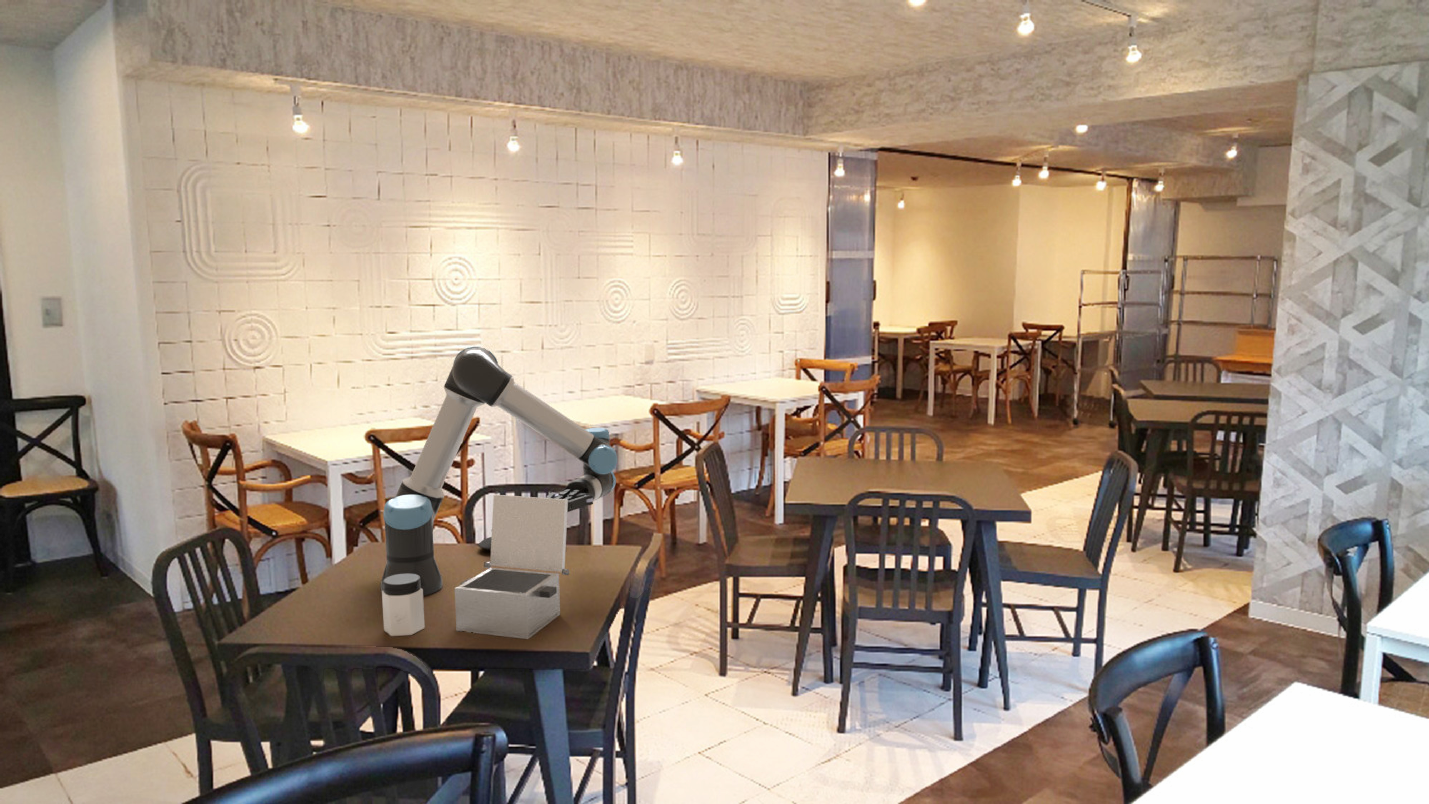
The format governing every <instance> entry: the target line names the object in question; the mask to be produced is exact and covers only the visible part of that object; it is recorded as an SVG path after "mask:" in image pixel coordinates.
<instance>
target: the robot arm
mask: <svg viewBox="0 0 1429 804" xmlns="http://www.w3.org/2000/svg"><path fill="white" fill-rule="evenodd" d="M446 378H447V379H446V381H445V382H444V385H443V389H444V391H445V394H446V395H445V398H444V399H443V403H442V404H441V407H440V409H439V411H438V414H437V416H436V417H435V420H434V422H433V425H432V426H431V427H432V428H431V429H430V432H429V435H428V436H427V439H426V440H425V442H424V446H423V448H422V450H421V452H420V455H419V456H418V459H417V461H416V464H415V467H414V468H413V470H412V473H411V475H410V476H408V477H406V478H403V479H402V481H401V484H400V486H399V488H398V490H397V492H396V495H395V497H394V498H390V499H389V500H387V501H386V503H385V504H384V507H383V514H382V515H383V516H382V518H383V521H384V535H385V537H384V538H385V539H384V540H385V552H386V553H385V556H386V564H385V566H384V570H383V575H382V577H381V582H380V594H382V591H383V580H384V579H385V578H387V577H389V576H392V575H397V574H416V575H419V576H420V580H421V588H422V589H423V597H425V596H427V595H428V596H429V595H431V594H434V593H436V592H438V591H440V590H441V589H442V588H443V577H442V574H441V572H440V569H439V566H438V564H437V561H436V559H435V550H434V549H435V548H434V546H435V545H434V522H435V518H436V516H437V514H438V511H439V509H440V506H441V504H442V502H443V500H444V497H445V494H444V490H443V486H444V484H445V481H446V478H447V477H448V474H449V472H450V469H451V467H452V465H453V463H454V461H455V458H456V456H457V454H458V452H459V450H460V446H461V445H462V443H463V440H464V437H465V435H466V433H467V431H468V428H469V427H470V424H471V422H472V419H473V417H474V415H475V414H476V413H475V412H476V411H477V409H478V408H479V407H481V406H483V405H485V404H486V405H488V406H489V407H490V408H494V407H497V408H499V409H501V410H503V411H504V412H505V413H507V414H509V415H510V416H512V417H514V418H515V419H516V420H518V421H520V422H521V423H522V424H524V425H525V426H527V427H528V428H531V429H532V430H533V431H534V432H536V433H538V434H539V435H541V436H542V437H544V438H545V439H547V440H549V441H550V442H551V443H554V444H555V445H556V446H557V447H560V448H561V449H562V450H564V451H566V453H568V454H570V455H571V456H573V457H574V458H576V459H578V460H579V461H580V462H581V463H582V464H583V466H582V468H583V470H582V471H583V475H582V476H580V477H578V478H577V479H575V480H572V481H571V482H569V483H568V484H567V485H566V486H565V489H564V490H563V491H560V492H558V493H557V494H556V492H553V491H548V494H547V496H546V497H545V498H552V499H566V500H568V507H567V513H569V512H572V511H575V510H578V509H582V508H583V509H584V508H585V507H587V506H592V505H593V504H594V502H595V501H597V500H599V499H600V498H602V497H605V496H607V495H608V494H610V493H611V492H612V491H613V490H614V488H615V487H616V484H617V483H616V482H617V478H616V475H615V473H614V472H613V471H614V470H615V469H616V468H617V464H618V454H617V451H616V449H614V448H613V447H612V446H611V444H610V440H611V438H610V432H609V429H607V428H605V427H590V428H586V429H585V427H583V426H581V425H579V424H578V423H576V422H574V420H572V419H570V418H568V416H566V415H565V414H562V413H561V412H560V411H558V410H557V409H556V408H554V407H552V405H551V406H550V404H548V403H546V402H545V401H543V400H542V399H540V398H539V397H538V396H536V395H535V394H532V392H530V391H528V390H527V389H525V388H524V387H522V386H521V385H519V384H518V383H516V381H515V380H514V376H513V375H512V374H510V373H508V372H507V371H506V370H505V369H503V367H501V365H499V363H498V360H497V357H496V356H495V355H494V353H492V352H491V351H490V350H488V349H487V348H484V347H481V346H469V347H466V348H464V349H461V351H460V352H459V353H458V354H456V356H455V358H454V360H453V363H452V367H451V369H450V371H449V374H448V376H447V377H446Z"/></svg>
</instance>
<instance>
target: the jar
mask: <svg viewBox="0 0 1429 804" xmlns="http://www.w3.org/2000/svg"><path fill="white" fill-rule="evenodd" d="M381 600H382V617H383V619H382V620H383V630H384V632H386V633H387V635H389V636H390V637H399V636H400V637H402V636H412V635H413V634H416V633H418V632H420V631H422V630H423V629H425V611H424V610H425V608H424V596H423V589H422V588H421V580H420V576H419V575H416V574H397V575H392V576H389V577H387V578H385V579H384V580H383V591H382V593H381Z"/></svg>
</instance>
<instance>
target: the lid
mask: <svg viewBox="0 0 1429 804" xmlns="http://www.w3.org/2000/svg"><path fill="white" fill-rule="evenodd" d="M567 507H568V500H566V499H552V498H546V497H534V496H533V497H532V496H522V495H521V496H519V495H506V494H503V495H502V494H493V503H492V518H491V519H492V521H491V537H492V539H491V550H490V561H489V562H490V566H491V567H493V566H494V567H500V568H501V567H503V568H511V569H512V568H513V569H522V570H534V571H544V572H545V571H548V572H555V573H562V570H563V569H566V568H565V567H566V549H567V548H566V546H567V545H566V544H567V529H568V528H567V527H568V525H567V524H568V512H567Z"/></svg>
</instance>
